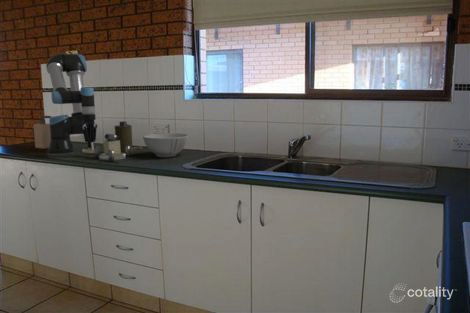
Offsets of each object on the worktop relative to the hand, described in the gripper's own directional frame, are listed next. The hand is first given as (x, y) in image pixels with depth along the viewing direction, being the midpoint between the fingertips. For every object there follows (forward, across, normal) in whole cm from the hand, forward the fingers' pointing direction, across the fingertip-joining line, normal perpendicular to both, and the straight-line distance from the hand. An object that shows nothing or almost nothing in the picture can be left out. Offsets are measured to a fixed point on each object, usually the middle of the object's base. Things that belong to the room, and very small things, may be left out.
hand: (91, 152), depth 256 cm
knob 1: (+2, +14, +26) cm, 29 cm away
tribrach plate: (+2, +4, +17) cm, 17 cm away
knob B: (+2, +4, +3) cm, 5 cm away
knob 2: (+2, -8, +24) cm, 26 cm away
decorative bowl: (+2, -12, +44) cm, 45 cm away
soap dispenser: (+2, -25, -53) cm, 59 cm away
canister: (+2, -13, +15) cm, 20 cm away
